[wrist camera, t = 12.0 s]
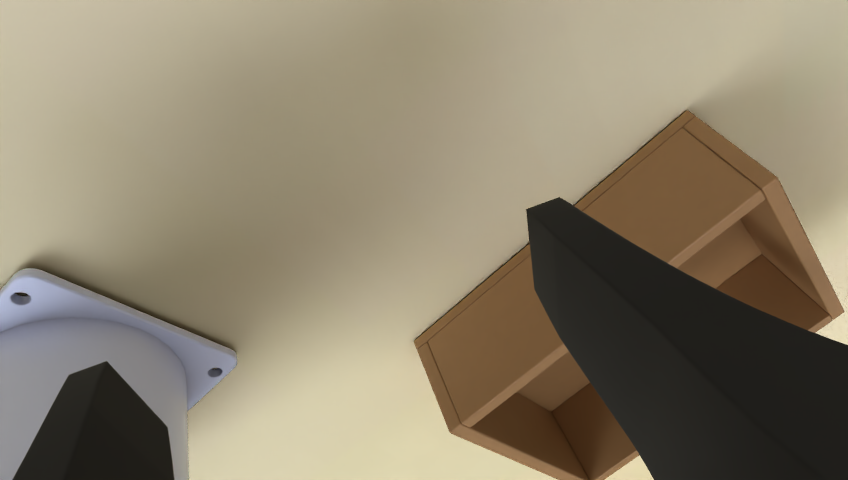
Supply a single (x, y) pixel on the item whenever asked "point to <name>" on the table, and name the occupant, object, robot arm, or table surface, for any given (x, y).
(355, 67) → the table surface
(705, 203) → the box
